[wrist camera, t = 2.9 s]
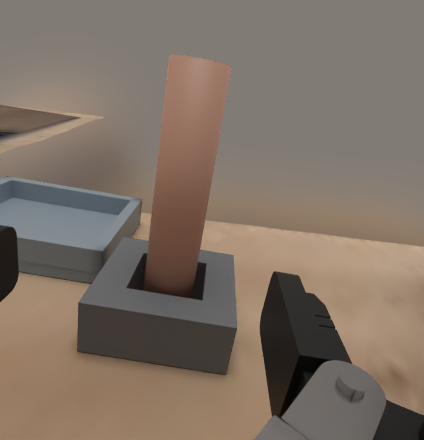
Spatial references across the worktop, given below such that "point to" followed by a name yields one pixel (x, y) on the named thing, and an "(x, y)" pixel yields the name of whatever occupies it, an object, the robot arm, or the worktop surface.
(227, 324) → the socket block
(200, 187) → the dowel
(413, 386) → the worktop surface
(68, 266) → the tray
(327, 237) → the worktop surface
